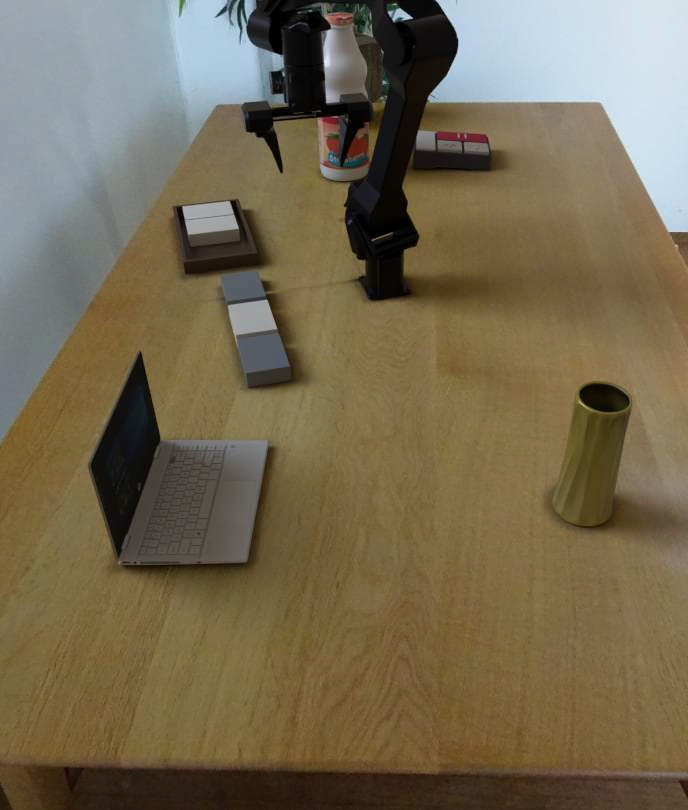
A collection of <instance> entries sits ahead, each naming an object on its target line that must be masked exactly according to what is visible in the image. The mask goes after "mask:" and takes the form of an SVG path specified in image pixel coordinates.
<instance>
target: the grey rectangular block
mask: <svg viewBox="0 0 688 810" xmlns="http://www.w3.org/2000/svg"><path fill="white" fill-rule="evenodd" d="M219 277H220V284H221V288H222V292H223V298H224V302H225V305H226V309H227V314H229V309H228V305H233V304H240V303H247V302H254V301H261V300H268V299H267V295H266V291H265V289H264V288H265V287H264V285H263V282H262V280H261V277H260V274H259V271H258V270H257V269H256V270H255V269H254V270H248V271H241V272H233V273H226V274H220V275H219Z"/></svg>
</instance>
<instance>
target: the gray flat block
mask: <svg viewBox="0 0 688 810" xmlns="http://www.w3.org/2000/svg"><path fill="white" fill-rule="evenodd" d="M281 338H282V337H281V335H280V332H278V333H275V334H268V335H262V336H255V337H248V338H242V339H237V344H238V348H237V350H238V355H239V360H240V363H241V366H242V371H243V375H244V379H245V382H246V383H245V384H246V387H247V388H253V387H260V386H266V385H271V384H278V383H283V382H289V381H292V371H291V365H290V362H289V358H288V356H287V353H286V350H285V347H284V344H283V341H282V339H281ZM237 344H236V345H237Z"/></svg>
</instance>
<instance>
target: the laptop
mask: <svg viewBox="0 0 688 810" xmlns="http://www.w3.org/2000/svg"><path fill="white" fill-rule="evenodd" d="M143 357H144V356H143V353H142V351H141V349H138V350H137V352H136V354H135V356H134V359H133V361H132V363H131V365H130V367H129V370H128V372H127V374H126V377H125V379H124V381H123V383H122V386H121V387H120V389H119V392H118V394H117V397H116V398H115V401H114V403H113V406H112V408H111V410H110V411H109V415H108V417H107V419H106V421H105V423H104V426H103V428H102V430H101V433H100V434H99V437H98V439H97V441H96V443H95V446H94V448H93V451H92V453H91V455H90V457H89V459H88V461H87V469H88V473H89V475H90V480H91V482H92V486H93V489H94V492H95V496H96V499H97V503H98V507H99V509H100V512H101V516H102V520H103V522H104V526H105V529H106V532H107V536H108V539H109V543H110V545H111V549H112V552H113V556H114V559H115V561H117V560H118V563H117V564H118V565H120V566H159V565H160V566H161V565H162V566H163V565H166V566H167V565H206V564H209V565H211V564H241V563H247V562H248V559H249V553H250V549H251V544H252V538H253V533H254V532H253V531H254V527H255V522H256V520H255V519H256V515H257V511H258V504H259V499H260V494H261V489H262V484H263V477H264V472H265V466H266V461H267V457H268V450H269V445H270V441H269V440H268V439H161V433H160V432H161V431H160V428H159V424H158V420H157V414H156V411H155V406H154V402H153V397H152V393H151V389H150V384H149V379H148V375H147V370H146V367H145V362H144V358H143Z"/></svg>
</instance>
